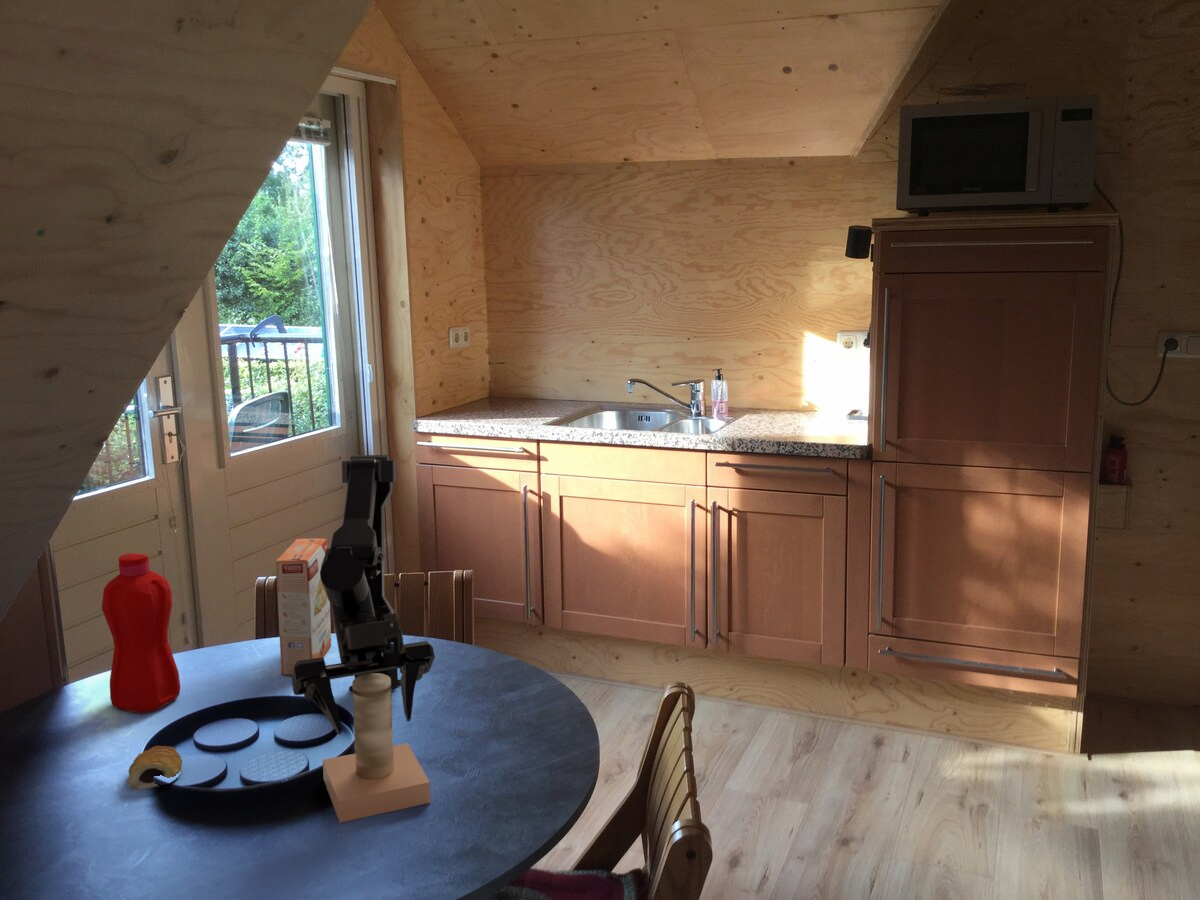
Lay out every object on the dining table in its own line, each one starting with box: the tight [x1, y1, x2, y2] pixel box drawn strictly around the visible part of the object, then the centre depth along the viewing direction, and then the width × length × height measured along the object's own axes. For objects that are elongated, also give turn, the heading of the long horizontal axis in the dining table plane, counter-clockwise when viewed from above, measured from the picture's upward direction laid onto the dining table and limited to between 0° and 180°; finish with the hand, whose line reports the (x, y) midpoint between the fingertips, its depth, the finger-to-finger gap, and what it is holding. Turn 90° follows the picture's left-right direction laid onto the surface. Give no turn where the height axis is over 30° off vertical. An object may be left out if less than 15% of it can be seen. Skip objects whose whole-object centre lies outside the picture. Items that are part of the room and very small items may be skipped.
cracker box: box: [275, 537, 332, 676], centre depth 184 cm, size 14×6×21 cm, turn 1°
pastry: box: [127, 745, 183, 791], centre depth 147 cm, size 9×7×4 cm
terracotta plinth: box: [322, 742, 431, 824], centre depth 142 cm, size 12×12×3 cm
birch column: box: [351, 673, 394, 780], centre depth 140 cm, size 5×5×13 cm
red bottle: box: [101, 552, 181, 714], centre depth 168 cm, size 9×11×25 cm
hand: (375, 726), depth 139 cm, fingers open, 9 cm apart
